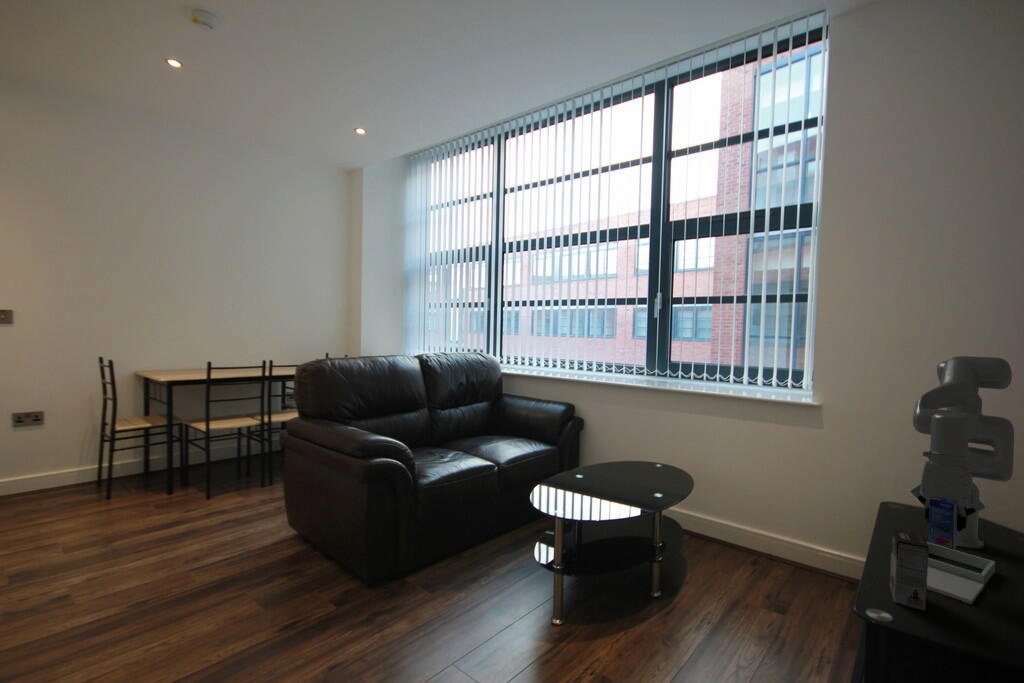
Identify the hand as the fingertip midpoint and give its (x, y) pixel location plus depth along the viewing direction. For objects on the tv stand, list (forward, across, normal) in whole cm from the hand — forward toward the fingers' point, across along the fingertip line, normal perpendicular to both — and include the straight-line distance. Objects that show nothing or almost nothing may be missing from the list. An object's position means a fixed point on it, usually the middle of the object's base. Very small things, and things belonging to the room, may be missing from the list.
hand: (945, 525), depth 129 cm
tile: (+16, 0, 0) cm, 16 cm away
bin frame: (+16, -1, +15) cm, 22 cm away
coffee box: (+16, -3, -18) cm, 24 cm away
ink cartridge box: (+5, 0, 0) cm, 5 cm away
